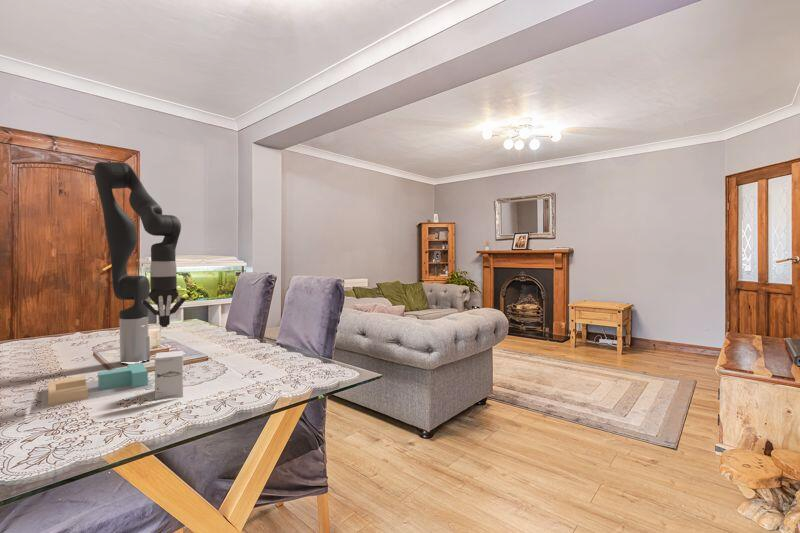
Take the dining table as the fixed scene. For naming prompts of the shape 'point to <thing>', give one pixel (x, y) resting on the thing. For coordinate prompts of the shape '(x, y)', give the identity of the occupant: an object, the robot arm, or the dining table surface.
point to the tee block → (124, 377)
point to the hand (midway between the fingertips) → (164, 326)
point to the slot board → (96, 392)
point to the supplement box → (169, 375)
